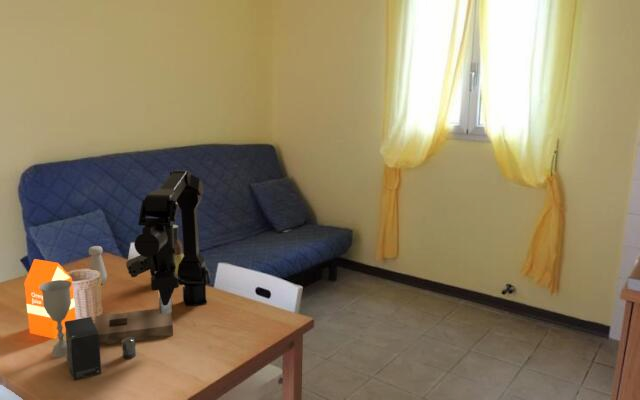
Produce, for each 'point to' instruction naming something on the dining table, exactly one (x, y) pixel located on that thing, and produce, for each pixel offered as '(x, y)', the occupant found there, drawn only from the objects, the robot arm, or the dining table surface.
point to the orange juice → (34, 298)
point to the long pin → (162, 308)
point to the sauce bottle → (177, 248)
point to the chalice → (57, 309)
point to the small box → (82, 348)
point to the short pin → (128, 347)
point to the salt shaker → (97, 261)
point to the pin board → (133, 326)
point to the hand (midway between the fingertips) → (165, 302)
